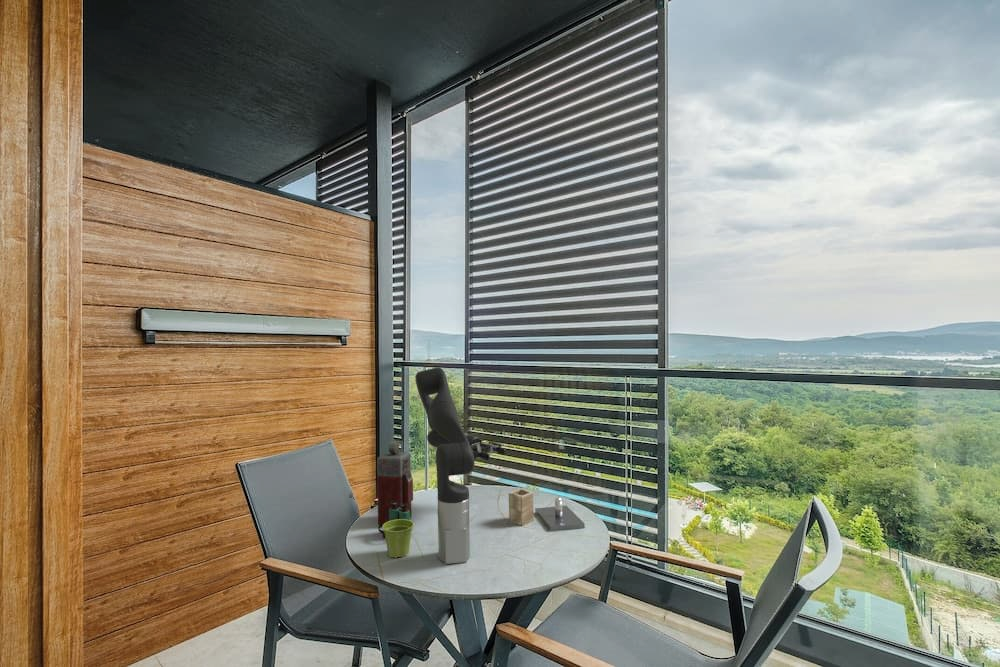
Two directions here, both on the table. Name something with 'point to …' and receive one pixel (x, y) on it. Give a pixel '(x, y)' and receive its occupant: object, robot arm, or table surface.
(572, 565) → the table surface
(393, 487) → the dark red bottle
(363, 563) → the table surface
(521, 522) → the wooden sleeve
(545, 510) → the post plate
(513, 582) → the table surface
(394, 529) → the plant pot
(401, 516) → the binoculars
